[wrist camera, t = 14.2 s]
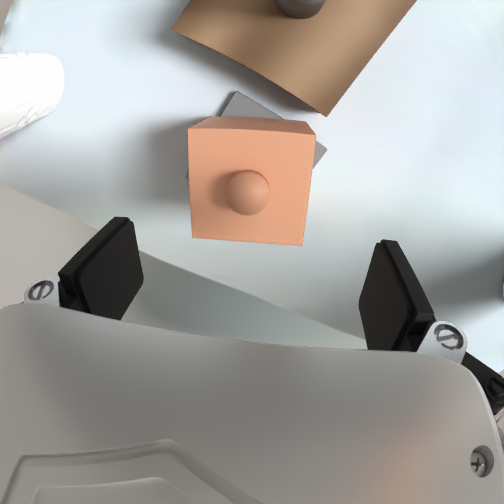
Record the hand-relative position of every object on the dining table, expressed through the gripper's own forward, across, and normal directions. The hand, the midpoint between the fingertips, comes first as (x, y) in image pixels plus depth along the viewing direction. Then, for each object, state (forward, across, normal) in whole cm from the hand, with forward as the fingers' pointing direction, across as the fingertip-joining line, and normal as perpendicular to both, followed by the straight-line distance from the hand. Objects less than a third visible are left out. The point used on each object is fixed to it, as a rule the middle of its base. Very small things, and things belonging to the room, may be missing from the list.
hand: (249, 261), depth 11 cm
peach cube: (+13, +1, 0) cm, 13 cm away
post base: (+14, -1, -13) cm, 19 cm away
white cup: (+13, +22, -9) cm, 27 cm away
